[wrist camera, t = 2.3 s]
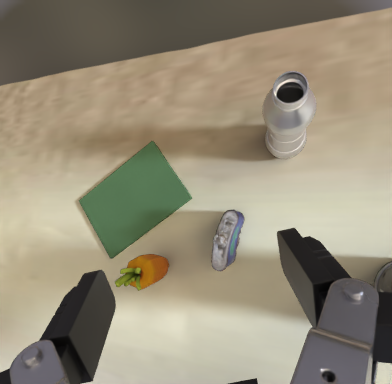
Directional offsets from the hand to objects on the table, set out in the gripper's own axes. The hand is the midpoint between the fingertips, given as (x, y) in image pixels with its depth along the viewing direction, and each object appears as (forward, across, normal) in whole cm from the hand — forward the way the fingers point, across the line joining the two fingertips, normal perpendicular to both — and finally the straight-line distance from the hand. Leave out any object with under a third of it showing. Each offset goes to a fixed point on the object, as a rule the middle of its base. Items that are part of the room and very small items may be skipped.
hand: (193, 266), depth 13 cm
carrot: (+33, -9, -22) cm, 41 cm away
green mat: (+41, -14, -10) cm, 44 cm away
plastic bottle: (+37, +16, -5) cm, 41 cm away
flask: (+32, +4, -18) cm, 37 cm away
